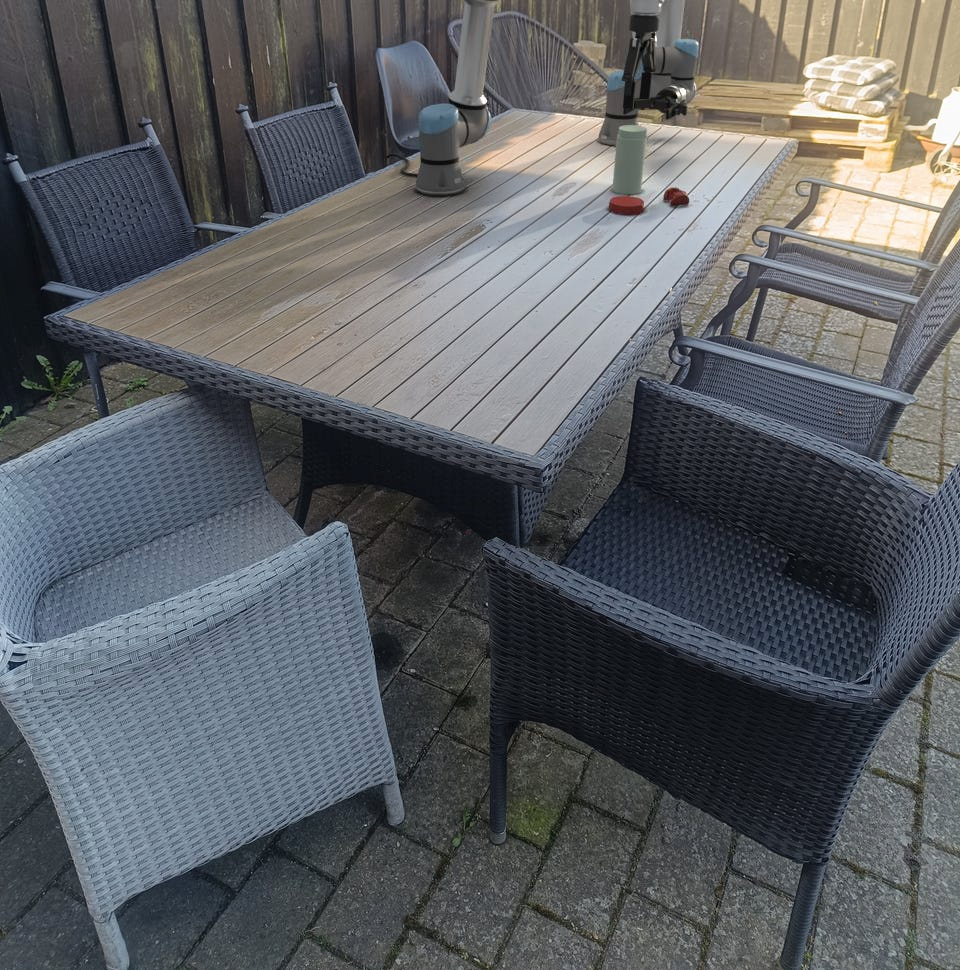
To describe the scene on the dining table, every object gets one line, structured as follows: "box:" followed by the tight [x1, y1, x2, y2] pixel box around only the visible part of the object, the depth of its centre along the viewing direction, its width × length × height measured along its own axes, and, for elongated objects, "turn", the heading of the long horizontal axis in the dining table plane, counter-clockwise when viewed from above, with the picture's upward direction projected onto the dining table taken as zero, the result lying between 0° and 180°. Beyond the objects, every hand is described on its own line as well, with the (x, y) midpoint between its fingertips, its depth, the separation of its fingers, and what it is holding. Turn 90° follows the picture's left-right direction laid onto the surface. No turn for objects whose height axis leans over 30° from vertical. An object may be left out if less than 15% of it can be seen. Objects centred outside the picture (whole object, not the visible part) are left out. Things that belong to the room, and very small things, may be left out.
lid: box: [608, 195, 645, 216], centre depth 242 cm, size 10×10×2 cm
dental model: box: [662, 187, 690, 207], centre depth 246 cm, size 6×4×8 cm
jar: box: [611, 125, 648, 195], centre depth 253 cm, size 9×9×18 cm
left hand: (636, 103), depth 226 cm, fingers open, 13 cm apart
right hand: (645, 112), depth 253 cm, fingers open, 13 cm apart
